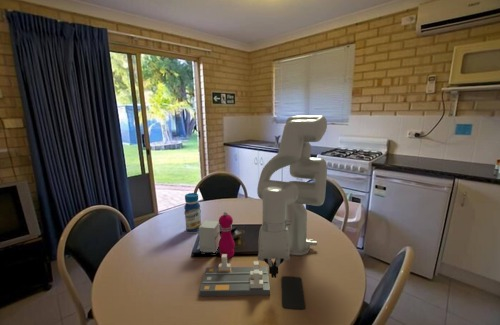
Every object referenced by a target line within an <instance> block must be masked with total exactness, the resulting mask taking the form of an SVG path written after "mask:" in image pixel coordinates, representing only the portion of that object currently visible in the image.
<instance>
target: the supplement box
mask: <svg viewBox="0 0 500 325" xmlns="http://www.w3.org/2000/svg"><path fill="white" fill-rule="evenodd" d="M220 232H221V230H220V224H219V220H204V221H203V222H201V226H200V227H199V232H198V236H199V237H198V238H199V252H200V251H203V252H213V253H215V252H216V251H217V252H218V250H219V249H218V247H219V241H220V238H221V235H220V234H221V233H220ZM217 249H218V250H217ZM217 252H216V253H217Z"/></svg>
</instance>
